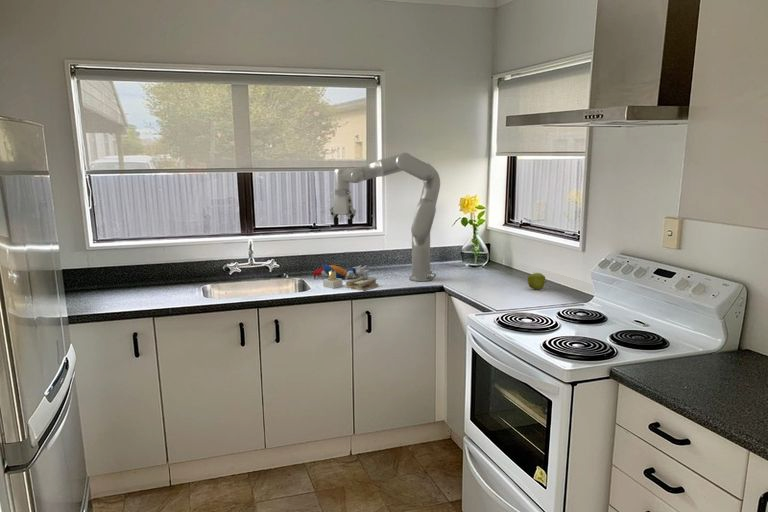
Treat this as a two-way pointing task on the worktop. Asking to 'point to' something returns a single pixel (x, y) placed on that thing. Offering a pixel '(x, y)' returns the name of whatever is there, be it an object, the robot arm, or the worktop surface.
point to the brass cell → (332, 275)
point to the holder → (332, 283)
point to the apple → (536, 281)
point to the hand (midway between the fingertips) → (343, 225)
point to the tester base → (361, 284)
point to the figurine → (342, 271)
